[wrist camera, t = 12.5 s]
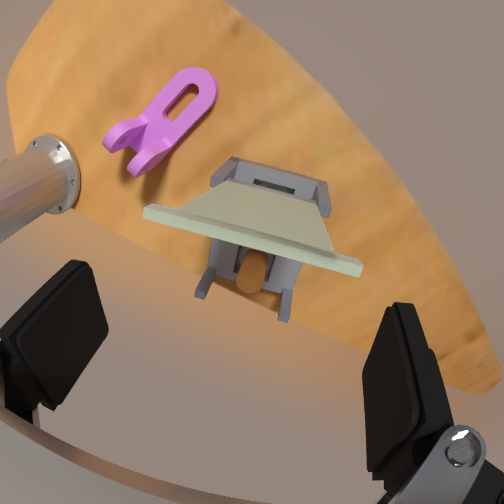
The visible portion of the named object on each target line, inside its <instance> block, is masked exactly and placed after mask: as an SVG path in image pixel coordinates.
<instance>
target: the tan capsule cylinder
mask: <svg viewBox="0 0 504 504" xmlns="http://www.w3.org/2000/svg"><path fill="white" fill-rule="evenodd" d="M268 259H269V258H268V255H267V253H266V252H264V251H260V250H257V249H253V248H251V249H249V250H248V251H247V252H246V254H245V256H244V259H243V262H242V264H241V267H240V270H239V273H238V275H237V278H236V284H237V287H238V288H239V289H240V290H241V291H243V292H245V293H248V294H253V293H257V292H258V291H260V290H261V288H262V286H263V281H264V277H265V273H266V269H267V264H268Z"/></svg>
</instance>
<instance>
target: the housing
mask: <svg viewBox="0 0 504 504" xmlns="http://www.w3.org/2000/svg"><path fill="white" fill-rule="evenodd" d="M227 178H232V179H236V180H240V181H244V182H248V183H252V184H256V185H259V186H263V187H267V188H271V189H275V190H278V191H282V192H286V193H289V194H293V195H296V196H300V197H303V198H307V199H310V200H314V201H317V204H316V205H317V207H318V210H319V212H320V215H321V216H323V217H326V218H329V215H330V212H331V209H332V207H331V202H330V197H329V192H328V187H327V182H325V181H321V180H318V179H314V178H311V177H308V176H304V175H301V174H297V173H293V172H290V171H286V170H282V169H279V168H275V167H271V166H267V165H263V164H260V163H256V162H252V161H248V160H243V159H239V158H235V157H231V158H230V159H229V160H228V161H226V162H225V163H224V164H223V165H222V166H221V167H220V168H219V169H218V170H217V171H216V172H215V173H214V174H213V175H212V176H211V181H210V186H211V187H215V186H217V185H219V184H220V183H222V182H224V181H226V180H227ZM249 249H251V248H249V247H246V246H242V245H238V244H235V243H231V242H227V241H224V240H220V239H216V238H212V244H211V250H210V256H209V262H208V267H207V269H206V271H205V273H204V275H203V276H202V278H201V280H200V282H199V284H198V286H197V288H196V290H195V297H197V298H200V299H203V300H204V299H205V297H206V295H207V292H208V290H209V288H210V286H211V284H212V282H213V280H214V278H215V276H219V277H222V278H226V279H229V280H233V281H236V278H237V275H238V273H239V270H240V267H241V264H242V262H243V259H244V256H245V254H246V252H247V251H248V250H249ZM266 253H267V255H268V258H269V259H268V264H267V269H266V273H265V277H264V281H263V286H262V289H265V290H269V291H273V292H277V293H280V294H281V300H280V307H279V314H278V320H279V321H283V322H287V323H288V320H289V318H290V311H291V301H292V291H293V288H294V285H295V282H296V279H297V277H298V274H299V271H300V268H301V266H302V263H303V262H300V261H297V260H293V259H289V258H286V257H282V256H279V255H275V254H271V253H268V252H266Z"/></svg>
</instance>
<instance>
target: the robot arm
mask: <svg viewBox="0 0 504 504" xmlns="http://www.w3.org/2000/svg"><path fill="white" fill-rule="evenodd" d="M79 190H80V171H79V167H78V163H77V160H76V157H75V155H74V153H73V152H72V150H71V148H70V147H69V146H68V144H67V143H66V142H65V141H64V140H62V139H61V138H59V137H58V136H55V135H52V134H45V135H41V136H38V137H36V138H34V139H33V140H32V141H31V142H30V143H29V145H28V146H27V148H26V150H25V152H24V153H22V154H20V155H17V156H15V157H12V158H10V159H5V158H4V159H3V160H2V161H1V162H0V243H2V242H3V241H4V240H6V239H7V238H9V237H10V236H11V235H13V234H14V233H15V232H17V231H18V230H20V229H21V228H23V227H24V226H26V225H27V224H29V223H30V222H31V221H33V220H34V219H36V218H37V217H39V216H40V215H42V214H44V213H45V212H47V213H50V214H61V213H63V212H65V211H67V210H68V209H70V208H71V207H72V206H73V204H74V203H75V201H76V200H77V197H78V194H79ZM108 329H109V328H108V324H107V321H106V318H105V314H104V311H103V307H102V304H101V300H100V297H99V294H98V290H97V286H96V282H95V278H94V275H93V271H92V268H91V267H89V264H88V263H87V262H85V261H79V260H70V261H69V262H68V263H67V264H65V265H64V266H63V267H62V268H61V269H60V270H59V271H58V272H57V273H56V274H55V275H53V276H52V277H51V278H50V279H49V280H48V281H47V282H46V283H45V284H44V285H43V286H42V287H41V288H40V289H39V290H38V291H37V292H36V293H35V294H34V295H33V296H32V297H31V298H30V299H29V300H28V301H27V302H26V303H25V304H24V305H23V306H22V307H21V308H20V309H19V310H18V311H17V312H16V313H15V314H14V315H13V316H12V317H11V318H10V319H9V320H8V321H7V322H6V323H5V324H4V325H3V326H2V328H1V329H0V338H1V341H0V504H271V503H263V502H256V501H249V500H243V499H237V498H231V497H226V496H221V495H216V494H212V493H207V492H203V491H199V490H194V489H191V488H187V487H183V486H179V485H175V484H172V483H169V482H165V481H162V480H158V479H155V478H152V477H149V476H146V475H143V474H140V473H137V472H135V471H132V470H129V469H126V468H124V467H121V466H118V465H116V464H113V463H111V462H108V461H106V460H103V459H101V458H99V457H96V456H94V455H91V454H89V453H87V452H85V451H83V450H80V449H78V448H76V447H74V446H72V445H70V444H68V443H66V442H64V441H62V440H60V439H58V438H56V437H54V436H52V435H50V434H48V433H47V432H45V431H43V430H41V429H40V422H39V413H38V406H37V405H38V404H39V402H41V404H42V405H43V406H45V407H47V408H48V409H50V410H53V411H54V410H55V409H56V407H57V406H58V405H60V404H61V403H62V402H63V401H64V399H65V398H66V396H67V395H68V393H69V392H70V390H71V388H72V387H73V386H74V384H75V382H76V381H77V379H78V378H79V376H80V375H81V373H82V372H83V370H84V369H85V367H86V366H87V364H88V363H89V361H90V360H91V358H92V357H93V355H94V354H95V353H96V351H97V350H98V348H99V347H100V345H101V344H102V342H103V341H104V340H105V338H106V337H107V334H108V331H109V330H108ZM362 382H363V394H364V410H365V427H366V453H367V470H368V472H372V480H384V489H385V490H386V491H385V492H384V493H383V494H382V496H381V497H380V498H379V499H378V500H377V501H376V502H375V503H374V504H504V473H503V472H502V471H501V470H499V469H497V468H496V467H495V466H494V465H492V464H491V463H489V462H488V461H487V460H485V456H486V445H485V442H484V439H483V438H482V436H481V435H480V433H479V432H477V431H476V430H475V429H474V428H472V427H469V426H467V425H455V426H454V422H453V418H452V414H451V410H450V406H449V402H448V398H447V394H446V391H445V387H444V383H443V380H442V376H441V373H440V370H439V366H438V363H437V360H436V357H435V354H434V352H433V350H432V349H429V348H428V344H427V341H426V338H425V335H424V332H423V329H422V326H421V323H420V320H419V318H418V315H417V312H416V309H415V307H414V305H413V304H412V303H400V302H395V303H393V305H392V307H389V306H388V307H387V308H386V310H385V313H384V316H383V318H382V321H381V324H380V327H379V329H378V332H377V335H376V338H375V340H374V343H373V345H372V348H371V350H370V353H369V355H368V358H367V360H366V363H365V365H364V368H363V373H362Z"/></svg>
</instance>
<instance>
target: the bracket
mask: <svg viewBox="0 0 504 504" xmlns="http://www.w3.org/2000/svg"><path fill="white" fill-rule="evenodd" d="M193 83H194V84H196V85H197V86H198V88H199V94H198V96H197V97H196V98H195V99H194V100H193V101H192V102H191V103H190V104H189V105H188V106H187V107H186V109H185V110H184V111H183V112H182V113H181V114H180V115H179V116H178V117H177V118H176V119H175V120H174V121H171V120H169V119H168V117H167V110H168V109H169V107H170V106H171V105H172V104H173V103H174V102H175V101H176V100H177V99H178V98H179V96H180V95H181V94H182V93H183V92H184V91H185V90H186V89H187V88H188V87H189V86H190V85H191V84H193ZM218 92H219V88H218V83H217V81H216V79H215V77H214V76H213V75H212V74H211V73H210V72H209V71H207V70H205V69H201V68H195V67H191V68H186V69H183V70H181V71H179V72H178V73H177V74H176V75H175V76H174V77H173V78H172V79H171V80H170V81H169V82H168V83H167V85H166V86H165V87H164V88H163V89H162V90H161V91H160V93H159V94H158V95H157V96H156V97H155V98H154V100H153V101H152V102H151V103H150V104H149V105H148V107H147V108H146V109H145V110H144V112H143V113H142V114H141V115H140V116H138V117H135V118H131V119H127V120H123V121H121V122H119V123H118V124H116V125H115V126H114V127H113V128H112V129H111V130H110V131H109V132H108V133H107V134H106V136H105V137H104V139H103V141H102V145H103V146H104V147H105V148H106V149H107V150H108V151H109V152H110V153H114V152H116V151H119V150H121V149H123V148H126V147H128V146H130V147H131V148H132V149H133V150H134V151H135V152H136V153H137V155H136V156H135V157H134V158H133V159H132V160H131V162H130V163H129V164H128V166H127V168H126V169H127V171H128V172H129V173H130V174H131V175H132V176H133V177H134V178H138V177H139V176H141V175H143V174H144V173H146V172H148V171H149V170H151V169H153V168H154V167H156V166H157V165H158V164H159V163H160V162H161V160H162V159H163V158H164V157H165V156H166V155H167V154H168V152H169V151H170V150H171V149H172V148H173V147H174V146H175V145H176V144H177V143H178V141H179V140H180V139H181V138H182V137H183V136H184V135H185V134H186V133H187V132H188V131H189V130H190V129H191V128H192V127H193V125H194V124H195V123H196V122H197V121H198V120H199V119H200V118H201V117H202V116H203V115H204V114H205V113H206V112H207V111H208V110H209V109H210V108H211V107H212V106H213V105H214V103H215V102H216V100H217V97H218Z"/></svg>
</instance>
